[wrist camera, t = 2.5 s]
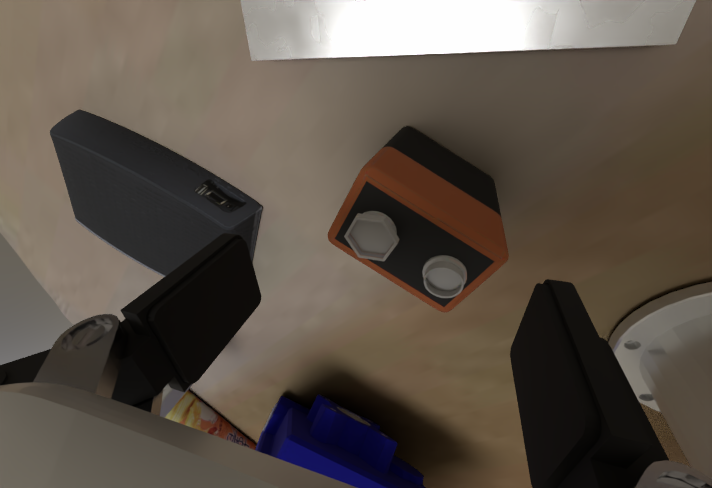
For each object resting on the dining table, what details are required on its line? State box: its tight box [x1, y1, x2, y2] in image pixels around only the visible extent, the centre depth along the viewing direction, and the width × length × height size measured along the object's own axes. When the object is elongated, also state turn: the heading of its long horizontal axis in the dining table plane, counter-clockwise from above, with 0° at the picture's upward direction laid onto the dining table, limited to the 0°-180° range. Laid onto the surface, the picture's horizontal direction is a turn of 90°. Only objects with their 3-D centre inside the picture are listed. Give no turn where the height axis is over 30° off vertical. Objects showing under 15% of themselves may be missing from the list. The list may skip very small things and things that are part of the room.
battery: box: [328, 126, 509, 312], centre depth 15 cm, size 4×7×10 cm, turn 64°
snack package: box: [165, 390, 256, 450], centre depth 53 cm, size 21×7×7 cm, turn 43°
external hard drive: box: [50, 110, 262, 277], centre depth 28 cm, size 13×19×4 cm
